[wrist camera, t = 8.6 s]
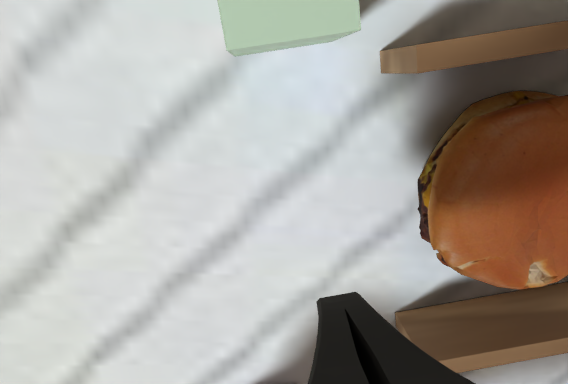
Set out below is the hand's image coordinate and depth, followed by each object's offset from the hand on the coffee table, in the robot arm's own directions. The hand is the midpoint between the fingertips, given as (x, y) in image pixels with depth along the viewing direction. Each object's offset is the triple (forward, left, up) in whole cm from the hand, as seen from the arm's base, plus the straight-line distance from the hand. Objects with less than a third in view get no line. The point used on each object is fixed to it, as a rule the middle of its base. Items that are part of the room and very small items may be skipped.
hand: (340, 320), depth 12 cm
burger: (+1, -10, -8) cm, 13 cm away
